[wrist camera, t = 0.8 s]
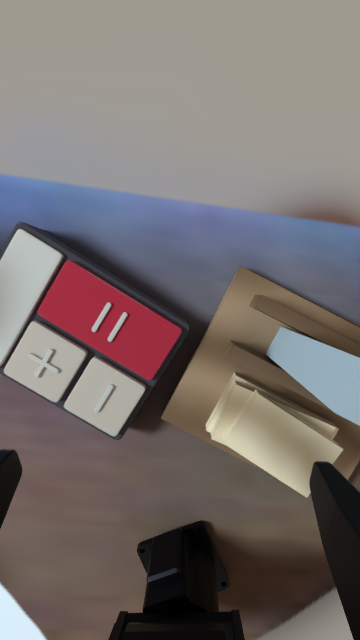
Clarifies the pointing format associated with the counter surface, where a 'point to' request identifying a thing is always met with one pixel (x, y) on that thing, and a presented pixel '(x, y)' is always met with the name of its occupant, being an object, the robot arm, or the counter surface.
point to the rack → (260, 359)
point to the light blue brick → (320, 371)
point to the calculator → (80, 332)
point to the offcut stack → (272, 432)
